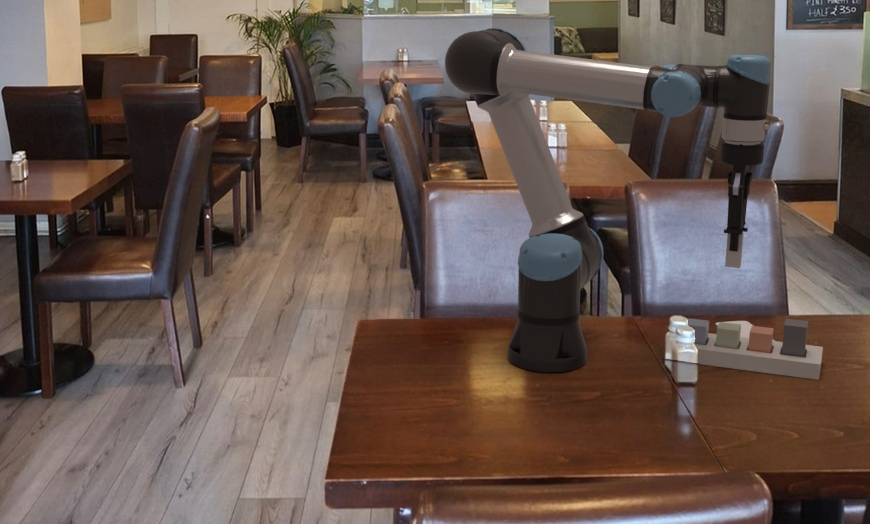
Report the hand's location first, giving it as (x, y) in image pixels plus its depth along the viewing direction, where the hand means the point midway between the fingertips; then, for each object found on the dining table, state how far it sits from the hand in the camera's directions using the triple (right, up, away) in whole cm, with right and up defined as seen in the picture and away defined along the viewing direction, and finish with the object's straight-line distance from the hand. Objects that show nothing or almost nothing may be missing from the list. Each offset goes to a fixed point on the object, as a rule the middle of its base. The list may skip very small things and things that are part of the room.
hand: (732, 266), depth 195 cm
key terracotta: (+6, -18, +2) cm, 19 cm away
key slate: (-5, -17, +7) cm, 19 cm away
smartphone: (+8, -15, +18) cm, 25 cm away
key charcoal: (+11, -16, 0) cm, 20 cm away
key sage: (0, -17, +5) cm, 18 cm away
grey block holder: (+3, -18, +4) cm, 19 cm away
